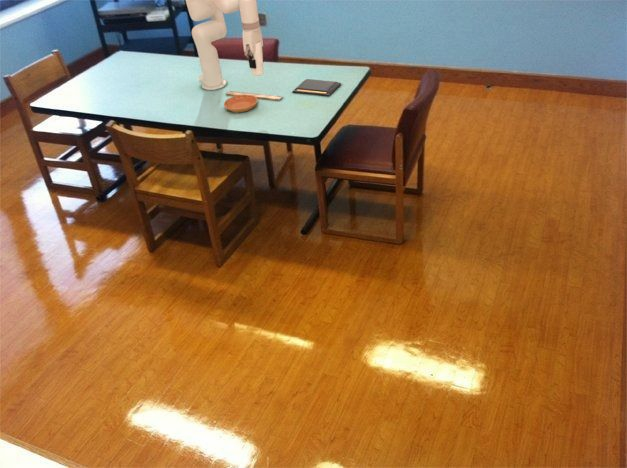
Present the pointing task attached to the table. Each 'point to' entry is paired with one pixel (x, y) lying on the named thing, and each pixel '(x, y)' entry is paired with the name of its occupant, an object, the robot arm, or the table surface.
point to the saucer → (240, 103)
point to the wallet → (317, 87)
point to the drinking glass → (258, 60)
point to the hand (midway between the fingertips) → (256, 64)
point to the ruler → (260, 96)
